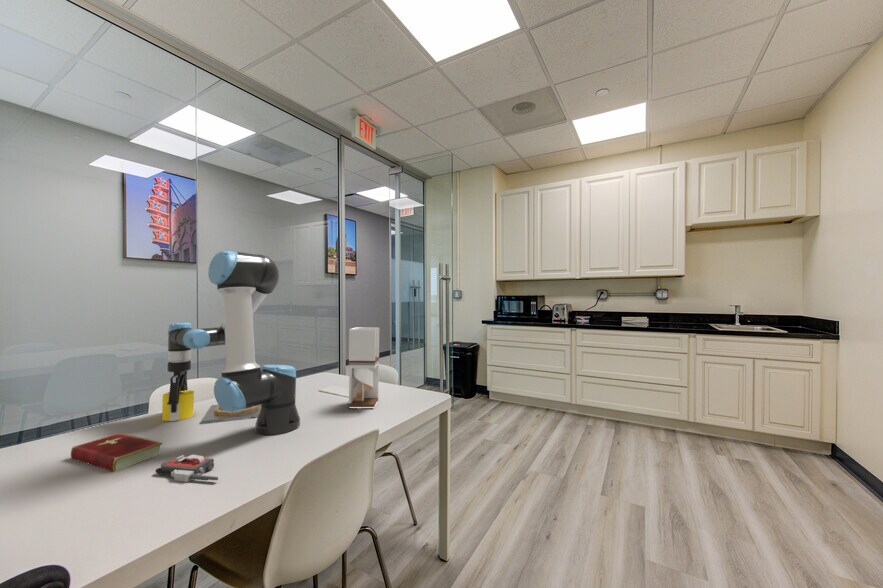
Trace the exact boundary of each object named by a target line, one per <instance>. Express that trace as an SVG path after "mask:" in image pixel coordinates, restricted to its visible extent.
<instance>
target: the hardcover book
mask: <svg viewBox="0 0 883 588" xmlns="http://www.w3.org/2000/svg"><path fill="white" fill-rule="evenodd" d="M161 445H163V442H160V441H157V440H152V439H147V438H143V437H139V436H135V435H131V434H127V433H123V432H119V433H115V434H113V435H108V436H105V437H101V438H99V439H96V440H91V441H88V442H85V443H81V444H77V445H74V446H72V447H71V449H70V451H71V452H70V458H73V459H76V460H75V461H77V460H79V461H78V462H80V461H82V462H81V463H83V462H85V463H84V464H87V463H89V464H88V465H90V464H92V465H91V466H93V465H95V466H94V467H97V466H98V467H97V468H100V467H101V468H100V469H103V468H105V469H104V470H107V469H108V471H110V470H111V471H110V472H113V471H114V472H115V471H116V470H117V471H119V470H121V469H125V468H127V467H130V466H133V465H135V464H137V463H141V462H143V460H144V461H145V460H146V461H147V460H148V458H149V459H152V458H154V457H156V456H159V454H160V453H161ZM151 457H152V458H151ZM73 459H72V460H73ZM140 461H141V462H140ZM124 467H125V468H124ZM117 471H116V472H117Z"/></svg>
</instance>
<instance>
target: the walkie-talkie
mask: <svg viewBox="0 0 883 588" xmlns="http://www.w3.org/2000/svg"><path fill="white" fill-rule="evenodd" d="M214 461H215V459H214V458H209V457H208V458H207V457H205V456H204V455H200V454H190V455H188V456H187V455H184V454H182V455H180V456H178V455H177V456H174V457H171V458H170V459H167V460H166V461H164V462H162V463H161V464H160V467H158V468H156V469H155V472H154V473H156V474H160V476H167V477H172V478H173V481H176V482H184V483H188V482H191V481H195V480H198V481H199V480H200V481H209V480H211V481H219V476H213V475H204V474H205V473H207V472H208V471H213V469H214V467H215V462H214Z"/></svg>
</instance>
